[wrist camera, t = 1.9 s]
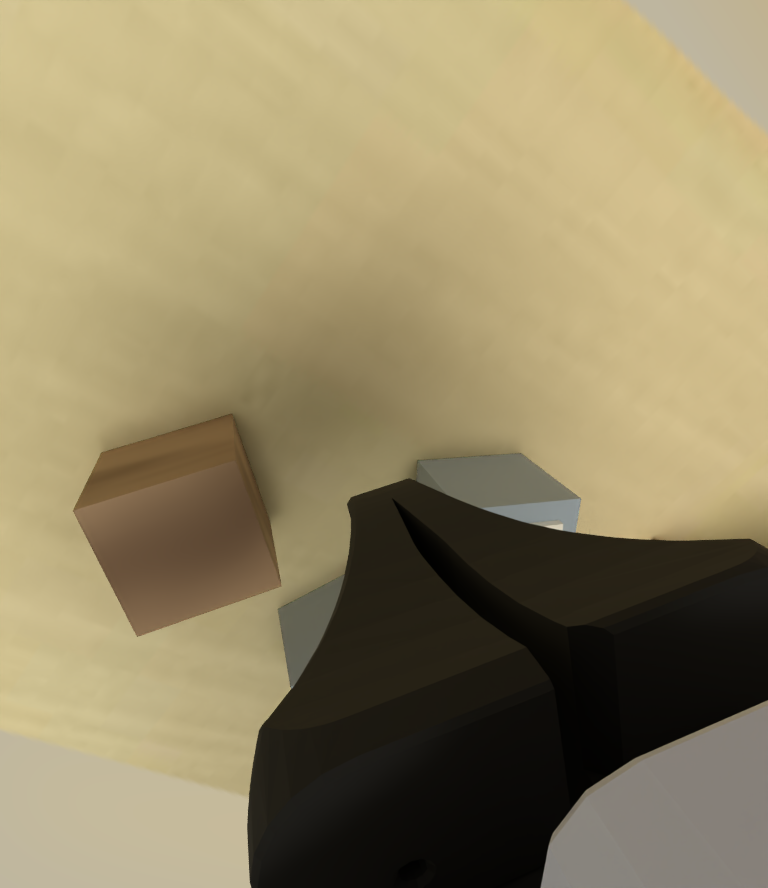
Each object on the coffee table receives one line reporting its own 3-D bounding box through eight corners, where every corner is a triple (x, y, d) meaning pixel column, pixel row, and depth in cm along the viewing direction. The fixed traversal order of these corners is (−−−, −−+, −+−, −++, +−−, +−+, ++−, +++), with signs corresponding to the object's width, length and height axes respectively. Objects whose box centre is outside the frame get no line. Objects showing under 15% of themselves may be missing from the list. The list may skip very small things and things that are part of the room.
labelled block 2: (508, 547, 26) (567, 613, 22) (411, 558, 25) (452, 630, 20) (520, 452, 24) (585, 502, 20) (417, 459, 23) (463, 514, 19)
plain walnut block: (269, 520, 22) (281, 586, 18) (151, 559, 22) (137, 636, 18) (231, 413, 21) (235, 459, 17) (101, 451, 20) (72, 510, 16)
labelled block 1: (414, 631, 26) (454, 712, 22) (324, 680, 26) (346, 773, 21) (376, 556, 24) (411, 628, 20) (277, 608, 24) (291, 693, 20)
